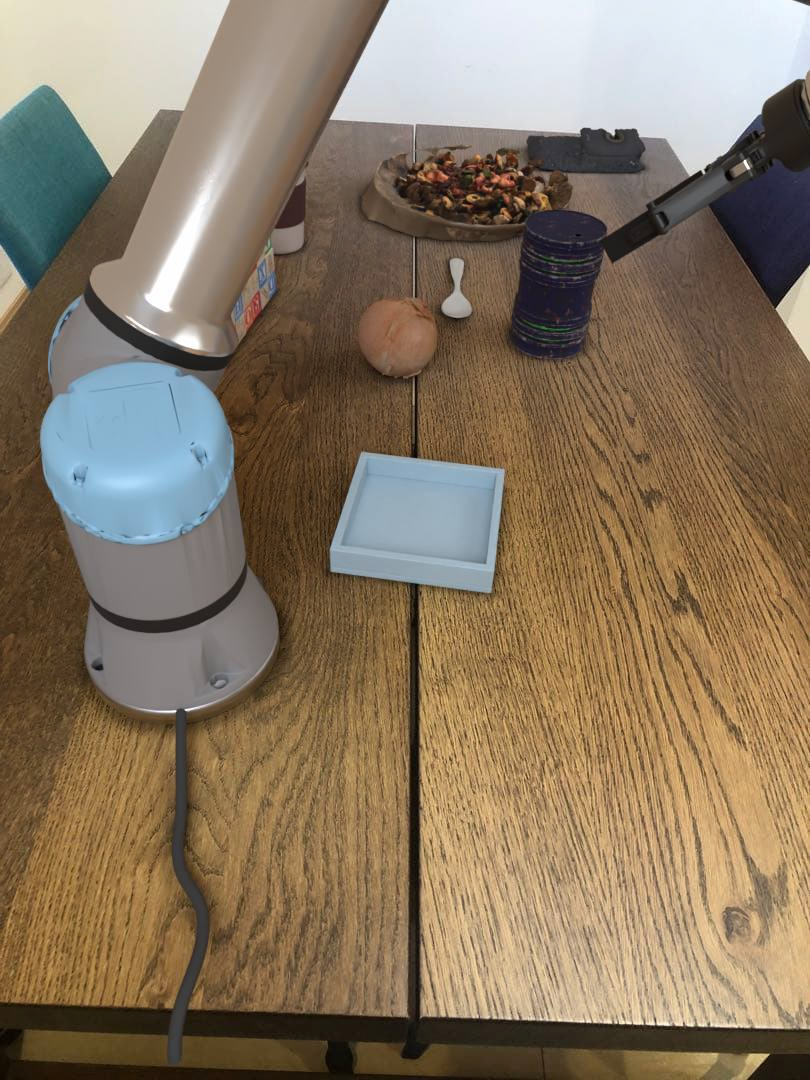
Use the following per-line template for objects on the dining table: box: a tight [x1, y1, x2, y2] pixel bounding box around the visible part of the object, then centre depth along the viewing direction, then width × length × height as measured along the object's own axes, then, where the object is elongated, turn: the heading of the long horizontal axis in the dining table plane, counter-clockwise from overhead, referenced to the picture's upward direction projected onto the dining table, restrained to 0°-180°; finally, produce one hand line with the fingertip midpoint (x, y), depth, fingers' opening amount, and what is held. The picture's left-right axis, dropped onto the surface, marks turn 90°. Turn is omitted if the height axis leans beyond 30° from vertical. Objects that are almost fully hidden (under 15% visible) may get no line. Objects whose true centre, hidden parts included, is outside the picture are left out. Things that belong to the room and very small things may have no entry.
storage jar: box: [509, 209, 608, 360], centre depth 101 cm, size 10×10×15 cm
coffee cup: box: [271, 160, 310, 255], centre depth 119 cm, size 10×10×15 cm
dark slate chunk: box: [525, 127, 647, 174], centre depth 155 cm, size 15×22×5 cm
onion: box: [356, 296, 438, 380], centre depth 96 cm, size 10×9×10 cm
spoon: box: [440, 257, 473, 319], centre depth 114 cm, size 4×21×2 cm, turn 177°
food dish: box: [361, 143, 574, 243], centre depth 136 cm, size 35×33×8 cm
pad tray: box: [329, 451, 506, 594], centre depth 78 cm, size 15×15×3 cm
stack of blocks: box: [231, 236, 277, 344], centre depth 102 cm, size 21×6×12 cm, turn 168°
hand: (632, 231), depth 92 cm, fingers open, 13 cm apart
